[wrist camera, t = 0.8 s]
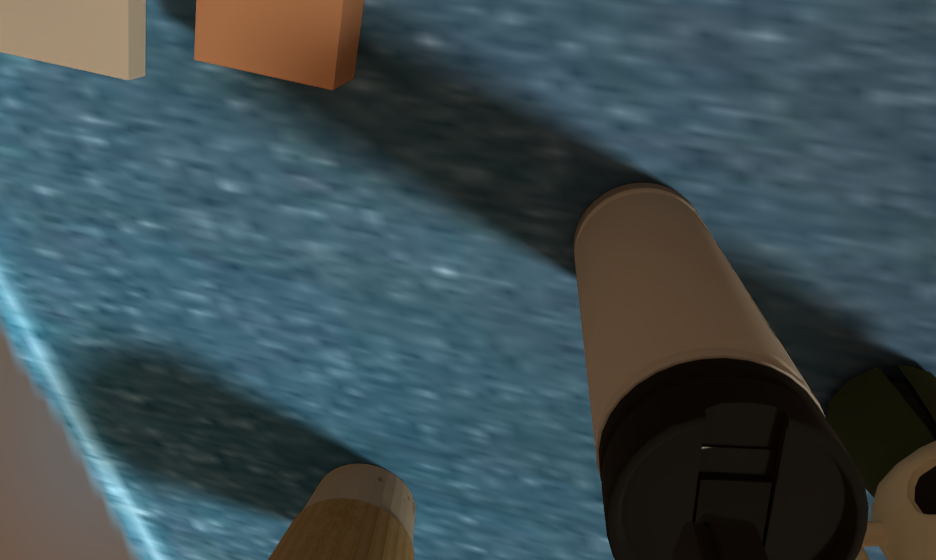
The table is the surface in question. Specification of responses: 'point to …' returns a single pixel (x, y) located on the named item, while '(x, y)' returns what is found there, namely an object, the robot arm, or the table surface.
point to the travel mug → (699, 393)
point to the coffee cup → (353, 518)
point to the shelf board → (282, 38)
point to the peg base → (78, 34)
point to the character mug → (893, 457)
